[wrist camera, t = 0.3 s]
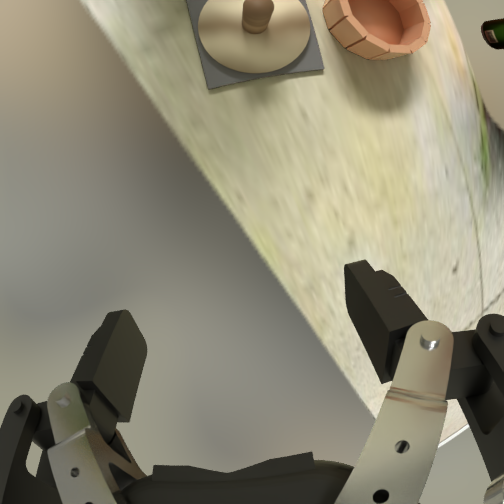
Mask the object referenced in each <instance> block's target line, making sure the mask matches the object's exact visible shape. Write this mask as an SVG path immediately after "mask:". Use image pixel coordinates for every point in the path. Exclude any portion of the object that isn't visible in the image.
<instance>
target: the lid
mask: <svg viewBox="0 0 504 504" xmlns="http://www.w3.org/2000/svg"><path fill="white" fill-rule="evenodd" d="M198 32H199V37H200V40H201V42H202V44H203V46H204V48H205V49H206V51H207V52H208V54H209V55H210V56H211V57H212V58H213V59H215V60H216V61H217V62H218V63H220V64H222V65H223V66H225V67H227V68H230V69H232V70H235V71H239V72H244V73H267V72H271V71H275V70H278V69H280V68H282V67H284V66H286V65H288V64H290V63H291V62H292V61H294V60H295V59H296V58H297V57H298V56H299V55H300V54H301V53H302V51H303V50H304V48H305V47H306V45H307V42H308V40H309V36H310V21H309V17H308V14H307V12H306V10H305V8H304V6H303V5H302V4H301V2H300V1H299V0H208V1H207V2H206V4H205V5H204V7H203V9H202V11H201V13H200V16H199V21H198Z"/></svg>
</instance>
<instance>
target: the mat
mask: <svg viewBox="0 0 504 504" xmlns="http://www.w3.org/2000/svg"><path fill="white" fill-rule="evenodd" d="M186 1H187V5H188V9H189V13H190V17H191V21H192V25H193V29H194V33H195V37H196V41H197V45H198V50H199V54H200V58H201V62H202V66H203V70H204V74H205V78H206V82H207V86H208V89H213V88H217V87H221V86H225V85H230V84H234V83H239V82H243V81H248V80H253V79H259V78H264V77H270V76H276V75H282V74H289V73H296V72H304V71H313V70H323V69H324V65H323V61H322V57H321V53H320V49H319V45H318V42H317V38H316V34H315V31H314V27H313V24H312V20H311V17H310V14H309V10H308V7H307V4H306V1H305V0H299V1H300V2H301V4H302V5H303V6H304V8H305V10H306V12H307V14H308V17H309V21H310V36H309V40H308V42H307V45H306V47H305V48H304V50H303V51H302V53H301V54H300V55H299V56H298V57H297V58H296V59H295V60H294V61H292V62H291V63H290V64H288V65H286V66H284V67H282V68H280V69H278V70H275V71H271V72H267V73H244V72H239V71H235V70H232V69H230V68H227V67H225V66H223V65H222V64H220V63H218V62H217V61H216V60H215V59H213V58H212V57H211V56H210V55H209V54H208V52H207V51H206V49H205V48H204V46H203V44H202V42H201V40H200V37H199V32H198V21H199V16H200V13H201V11H202V9H203V7H204V5H205V4H206V2H207V1H208V0H186Z"/></svg>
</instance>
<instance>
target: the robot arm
mask: <svg viewBox="0 0 504 504" xmlns="http://www.w3.org/2000/svg"><path fill="white" fill-rule="evenodd" d="M344 276H345V297H346V306H347V310H348V314H349V316H350V318H351V320H352V322H353V324H354V326H355V328H356V330H357V332H358V335H359V337H360V339H361V341H362V343H363V345H364V347H365V349H366V351H367V353H368V356H369V358H370V360H371V362H372V364H373V366H374V368H375V371H376V373H377V375H378V377H379V379H380V382H381V384H383V383H386V382H389V381H392V384H391V387H390V390H388V392H387V394H386V396H385V399H384V401H383V404H382V407H381V409H380V412H379V414H378V417H377V419H376V421H375V424H374V426H373V428H372V431H371V433H370V435H369V438H368V440H367V442H366V444H365V446H364V449H363V451H362V453H361V455H360V457H359V459H358V461H357V463H356V465H355V467H353V466H350V465H347V464H344V463H339V462H334V461H325V460H314V459H313V454H312V452H308V453H302V454H297V455H292V456H287V457H281V458H275V459H269V460H267V461H264V462H261V463H258V464H255V465H253V466H250V467H247V468H244V469H241V470H237V471H234V472H230V473H223V472H217V471H212V470H207V469H202V468H197V467H192V466H167V465H166V466H165V465H154V466H153V474H152V475H149V476H147V475H146V474H145V473H144V472H143V471H142V470H141V469H140V467H139V466H138V464H137V463H136V461H135V459H134V458H133V456H132V454H131V452H130V450H129V449H128V447H127V445H126V443H125V442H124V439H123V437H122V436H121V434H120V432H119V431H118V430H117V429H116V424H117V422H129V421H130V418H131V413H132V409H133V405H134V401H135V397H136V393H137V389H138V385H139V381H140V378H141V374H142V370H143V367H144V363H145V359H146V356H147V345H146V341H145V339H144V337H143V335H142V333H141V332H140V330H139V328H138V326H137V324H136V323H135V321H134V319H133V317H132V315H131V314H130V312H129V311H128V310H120V311H114V312H109V313H108V314H107V315H106V317H105V319H104V321H103V323H102V325H101V327H99V328H98V330H97V331H96V332H95V333H94V334H93V335H92V336H91V339H90V341H89V343H88V345H87V347H86V349H85V351H84V353H83V354H84V355H83V356H82V357H81V359H80V361H79V363H78V366H77V368H76V370H75V372H74V374H73V377H72V379H71V381H70V382H66V383H62V384H60V385H58V386H57V387H56V388H55V389H54V390H53V391H52V392H51V393H50V395H49V397H48V401H45V402H42V403H38V404H36V403H35V402H34V401H33V400H32V399H31V398H30V397H29V396H28V395H21V396H19V397H17V398H16V399H14V400H13V402H12V403H11V405H10V406H9V408H8V410H7V413H6V415H5V418H4V420H3V423H2V425H1V428H0V504H420V503H418V502H419V499H420V497H421V494H422V492H423V489H424V487H425V484H426V481H427V479H428V476H429V473H430V470H431V467H432V464H433V461H434V458H435V455H436V451H437V448H438V444H439V441H440V437H441V433H442V429H443V425H444V421H445V417H446V412H447V406H448V402H447V401H445V400H450V399H457V400H458V402H459V404H460V406H461V409H462V411H463V413H464V415H465V417H466V419H467V422H468V424H469V426H470V428H471V431H472V433H473V435H474V438H475V440H476V442H477V445H478V447H479V450H480V452H481V455H482V457H483V460H484V462H485V465H486V468H487V470H488V473H489V476H490V479H491V484H490V485H489V486H488V488H487V490H486V493H485V496H484V504H504V316H502V315H499V314H488V315H485V316H483V317H482V318H481V319H480V320H479V322H478V324H477V327H476V330H468V331H460V332H451V331H450V329H449V328H448V327H447V326H445V325H444V324H442V323H440V322H437V321H431V320H428V319H427V318H426V317H425V315H424V314H423V313H422V311H421V310H420V309H419V307H418V306H417V305H416V304H415V302H414V301H413V300H412V298H411V297H410V296H409V295H408V294H407V293H406V291H405V290H404V288H403V287H401V285H400V283H399V282H398V281H397V280H396V279H395V277H394V276H392V275H391V274H389V273H387V272H385V271H383V270H379V271H376V272H375V271H374V269H373V268H372V267H371V266H370V264H369V263H368V262H367V261H366V260H361V261H357V262H353V263H349V264H345V266H344ZM32 441H33V442H34V443H35V444H36V445H38V446H39V447H40V448H41V449H42V450H43V451H42V455H41V458H40V462H39V466H38V470H37V474H36V477H34V476H33V475H31V474H30V473H29V472H28V470H27V468H26V459H27V455H28V452H29V449H30V446H31V442H32Z"/></svg>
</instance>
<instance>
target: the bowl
mask: <svg viewBox="0 0 504 504" xmlns="http://www.w3.org/2000/svg"><path fill="white" fill-rule="evenodd" d="M421 2H423V1H422V0H325V3H324V6H323V14H324V17H325V20H326V24H327V27H328V29H331V30H330V32H331V34H332V35H333V36H334V37H335V38H336V39H337V40H338V41H339V42H340V43H341V44H342V46H343V47H344V48H345V47H347V50H349V51H351V52H353V53H355V54H357V55H359V56H361V57H363V58H365V59H369V60H388V59H392V58H395V57H399V56H403V55H407V54H410V53H413V52H415V51H416V50H418V49H419V48H420V47H422V46H423V45H425V44H426V42H427V41H428V36H429V32H430V27H431V25H430V23H431V22H430V19H429V16H428V13H427V10H426V7H425V4H424V3H421Z"/></svg>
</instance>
